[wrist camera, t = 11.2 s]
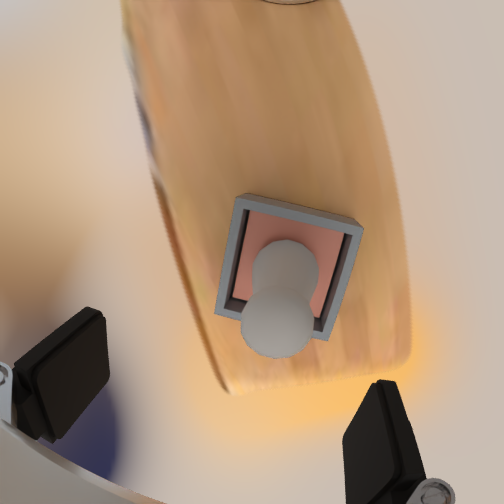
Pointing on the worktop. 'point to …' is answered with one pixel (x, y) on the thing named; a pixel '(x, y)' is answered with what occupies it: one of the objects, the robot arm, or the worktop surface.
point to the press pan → (277, 228)
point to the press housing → (247, 202)
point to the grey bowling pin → (280, 300)
